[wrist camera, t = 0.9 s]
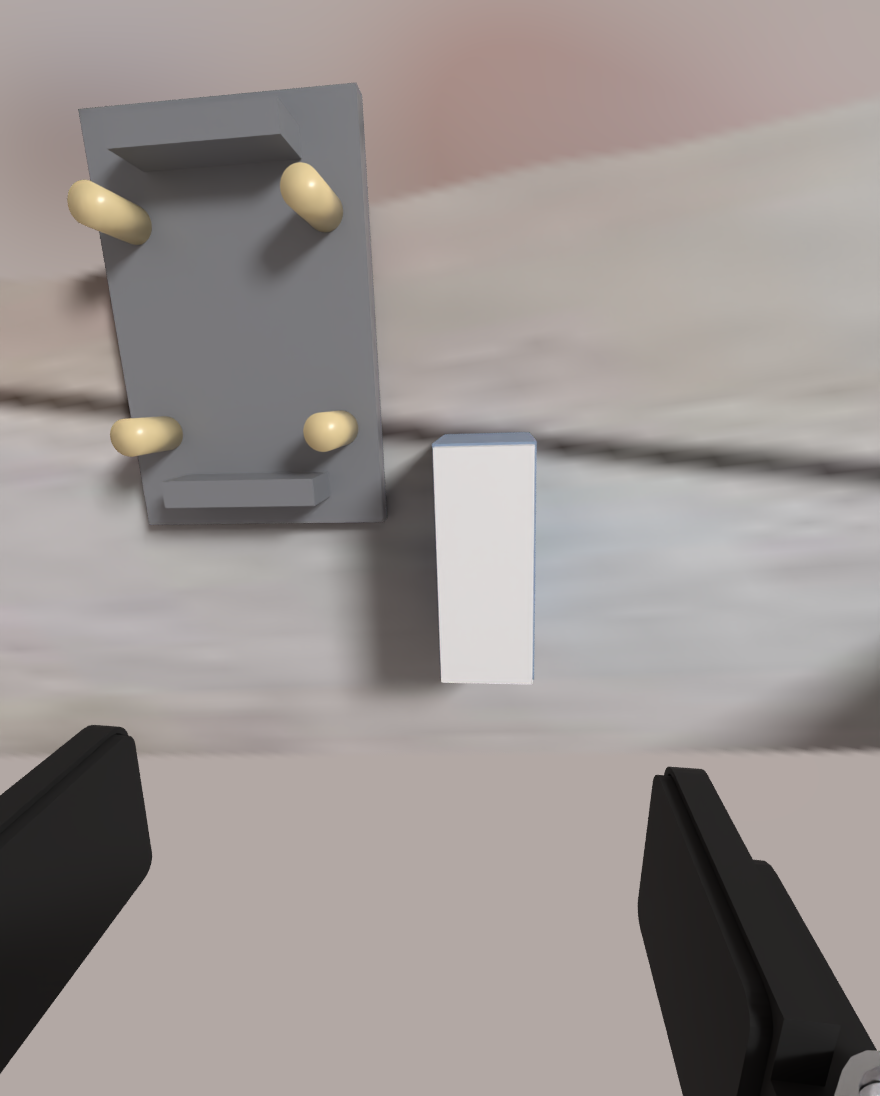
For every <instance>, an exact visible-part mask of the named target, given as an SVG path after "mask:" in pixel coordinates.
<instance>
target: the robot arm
mask: <svg viewBox="0 0 880 1096" xmlns="http://www.w3.org/2000/svg"><path fill="white" fill-rule="evenodd" d="M151 861H152V851H151V845H150V838H149V832H148V825H147V818H146V811H145V805H144V798H143V792H142V786H141V779H140V773H139V766H138V759H137V753H136V746H135V742H134V739H133V738H132V737H131V736H128V733H127V731H126V730H125V729H124V728H122V727H114V726H100V725H90V726H87V727H86V728H84V729H83V730H81V731H80V732H79V733H78V734H76V735H75V736H74V737H73V738H71V739H70V740H69V741H68V742H66V743H65V744H64V745H63V746H61V747H60V748H59V749H58V750H56V751H55V752H54V753H53V754H51V755H50V756H49V757H48V758H46V759H45V760H44V761H43V762H41V763H40V764H39V765H38V766H36V767H35V768H34V769H33V770H31V771H30V772H29V773H28V774H27V775H25V776H24V777H23V778H22V779H20V780H19V781H18V782H16V783H15V784H14V785H13V786H12V787H10V788H9V789H8V790H6V791H5V792H4V793H3V794H2V795H0V1073H1V1072H2V1071H3V1069H4V1068H5V1067H6V1065H7V1064H8V1062H9V1061H10V1059H11V1058H12V1057H13V1056H14V1054H15V1053H16V1052H17V1050H18V1049H19V1048H20V1046H21V1045H22V1044H23V1042H24V1041H25V1039H26V1038H27V1037H28V1035H29V1034H30V1033H31V1031H32V1030H33V1028H34V1027H35V1026H36V1024H37V1023H38V1022H39V1021H40V1019H41V1018H42V1016H43V1015H44V1014H45V1012H46V1011H47V1010H48V1008H49V1007H50V1006H51V1004H52V1003H53V1002H54V1000H55V999H56V998H57V996H58V995H59V993H60V992H61V991H62V989H63V988H64V986H65V985H66V984H67V983H68V981H69V980H70V979H71V977H72V976H73V975H74V973H75V972H76V970H77V969H78V968H79V966H80V965H81V964H82V962H83V961H84V960H85V958H86V957H87V955H88V954H89V953H90V952H91V950H92V949H93V947H94V946H95V945H96V943H97V942H98V941H99V939H100V938H101V937H102V935H103V934H104V933H105V931H106V930H107V928H108V927H109V926H110V924H111V923H112V921H113V920H114V919H115V918H116V916H117V915H118V914H119V912H120V911H121V909H122V908H123V906H124V905H125V904H126V903H127V901H128V900H129V899H130V897H131V896H132V895H133V893H134V892H135V891H136V889H137V888H138V886H139V885H140V884H141V882H142V881H143V880H144V878H145V877H146V875H147V873H148V871H149V869H150V865H151ZM638 917H639V924H640V929H641V933H642V937H643V941H644V945H645V949H646V953H647V957H648V960H649V964H650V968H651V972H652V976H653V980H654V984H655V988H656V992H657V996H658V1000H659V1003H660V1007H661V1011H662V1015H663V1019H664V1023H665V1027H666V1030H667V1035H668V1039H669V1043H670V1046H671V1050H672V1054H673V1058H674V1062H675V1066H676V1070H677V1074H678V1078H679V1082H680V1086H681V1089H682V1093H683V1096H880V1051H877V1050H876V1048H875V1046H874V1044H873V1042H872V1041H871V1039H870V1037H869V1036H868V1034H867V1032H866V1030H865V1028H864V1027H863V1025H862V1023H861V1022H860V1020H859V1018H858V1016H857V1014H856V1013H855V1011H854V1009H853V1007H852V1006H851V1004H850V1002H849V1000H848V999H847V997H846V995H845V993H844V991H843V990H842V988H841V986H840V985H839V983H838V981H837V979H836V977H835V976H834V974H833V972H832V970H831V969H830V967H829V965H828V963H827V962H826V960H825V958H824V956H823V954H822V953H821V951H820V949H819V947H818V946H817V944H816V942H815V940H814V939H813V937H812V935H811V934H810V932H809V930H808V928H807V926H806V925H805V923H804V921H803V919H802V918H801V916H800V914H799V912H798V910H797V909H796V907H795V905H794V903H793V902H792V900H791V898H790V896H789V895H788V893H787V891H786V889H785V888H784V886H783V884H782V882H781V881H780V879H779V877H778V875H777V874H776V872H775V871H774V869H773V868H772V867H771V865H769V864H768V863H767V862H765V861H761V860H753V859H752V857H751V856H750V854H749V852H748V850H747V848H746V846H745V844H744V842H743V841H742V839H741V837H740V835H739V833H738V831H737V829H736V827H735V825H734V824H733V822H732V820H731V818H730V816H729V814H728V812H727V810H726V809H725V807H724V805H723V803H722V801H721V799H720V798H719V795H718V794H717V792H716V790H715V788H714V786H713V784H712V782H711V781H710V779H709V777H708V775H707V773H706V772H705V771H704V770H702V769H692V768H679V767H667V768H666V770H665V773H664V775H655V777H654V779H653V786H652V793H651V801H650V809H649V817H648V826H647V833H646V842H645V849H644V857H643V866H642V873H641V881H640V889H639V897H638Z"/></svg>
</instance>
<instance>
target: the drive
mask: <svg viewBox="0 0 880 1096" xmlns="http://www.w3.org/2000/svg"><path fill="white" fill-rule="evenodd" d="M432 461H433V488H434V515H435V543H436V570H437V597H438V625H439V652H440V678H441V683H485V684H532V680H534V627H535V534H536V440H535V439H534V437H533V436H532V435H531V434H530V432H516V433H479V434H444V435H443V436H442V437H440V438H439V439H438V440H437V441H435V442H434V443H433V444H432Z"/></svg>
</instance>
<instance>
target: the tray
mask: <svg viewBox="0 0 880 1096" xmlns="http://www.w3.org/2000/svg"><path fill="white" fill-rule="evenodd" d="M362 104H363V103H362V94H361V92H360V90H359V88H358V86H357V83H347V84H336V85H326V86H316V87H305V88H296V89H295V88H294V89H284V90H273V91H263V92H253V93H242V94H232V95H221V96H210V97H200V98H189V99H179V100H168V101H158V102H148V103H137V104H127V105H116V106H105V107H95V108H86V109H78V111H79V117H80V122H81V128H82V134H83V140H84V145H85V152H86V157H87V163H88V169H89V174H90V181H88V180H80V181H77V182H76V183H74V184H73V185H72V187H71V188H70V190H69V192H68V199H67V200H68V207H69V210H70V212H71V214H72V216H73V217H74V218H75V219H76V220H77V221H78V222H79V223H81V224H83V225H85V226H88V227H90V228H93V229H95V230H97V231H99V233H100V239H101V245H102V250H103V256H104V262H105V268H106V274H107V280H108V286H109V291H110V297H111V303H112V309H113V315H114V321H115V326H116V332H117V338H118V344H119V350H120V356H121V361H122V367H123V373H124V379H125V385H126V391H127V396H128V402H129V408H130V414H131V418H130V419H121V420H118V421H117V422H115V423H114V425H113V426H112V428H111V432H110V438H111V442H112V444H113V446H114V448H115V449H116V450H117V451H118V452H119V453H121V454H122V455H125V456H129V457H133V456H138V461H139V466H140V472H141V478H142V484H143V490H144V496H145V501H146V507H147V513H148V519H149V525H169V524H258V523H348V522H384V521H385V520H386V518H387V507H386V490H385V474H384V457H383V440H382V423H381V406H380V389H379V373H378V356H377V339H376V322H375V305H374V288H373V272H372V255H371V238H370V221H369V204H368V187H367V173H366V172H367V171H366V154H365V137H364V121H363V105H362Z"/></svg>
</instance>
